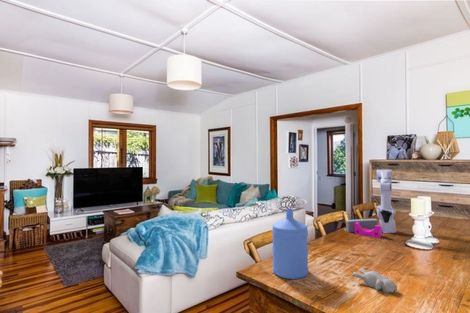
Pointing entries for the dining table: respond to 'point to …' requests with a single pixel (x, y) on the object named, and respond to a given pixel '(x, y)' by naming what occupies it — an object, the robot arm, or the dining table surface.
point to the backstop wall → (364, 223)
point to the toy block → (368, 231)
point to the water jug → (290, 248)
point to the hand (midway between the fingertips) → (386, 222)
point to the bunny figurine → (376, 280)
